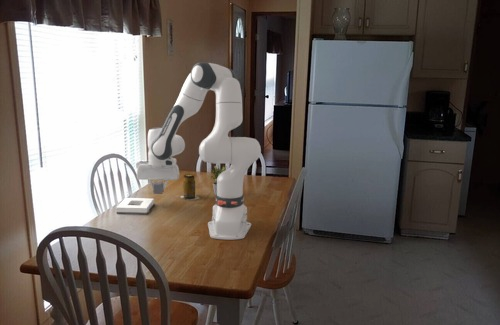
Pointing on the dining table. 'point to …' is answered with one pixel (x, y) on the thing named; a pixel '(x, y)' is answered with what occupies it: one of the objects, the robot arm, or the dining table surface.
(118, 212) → the socket
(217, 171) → the house plant
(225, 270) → the dining table surface
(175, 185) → the dining table surface
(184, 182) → the condiment
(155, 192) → the plug
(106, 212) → the dining table surface
